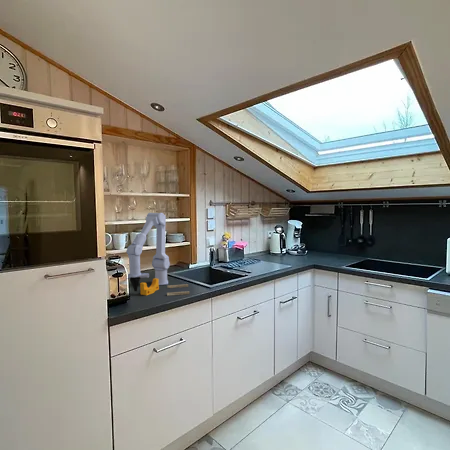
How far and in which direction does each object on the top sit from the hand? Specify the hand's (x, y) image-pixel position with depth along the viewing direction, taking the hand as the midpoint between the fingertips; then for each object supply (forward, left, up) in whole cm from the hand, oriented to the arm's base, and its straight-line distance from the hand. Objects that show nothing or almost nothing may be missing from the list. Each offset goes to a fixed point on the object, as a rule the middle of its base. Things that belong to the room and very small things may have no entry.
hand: (135, 290), depth 167 cm
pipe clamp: (-1, +8, -2) cm, 8 cm away
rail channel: (0, +23, -1) cm, 23 cm away
